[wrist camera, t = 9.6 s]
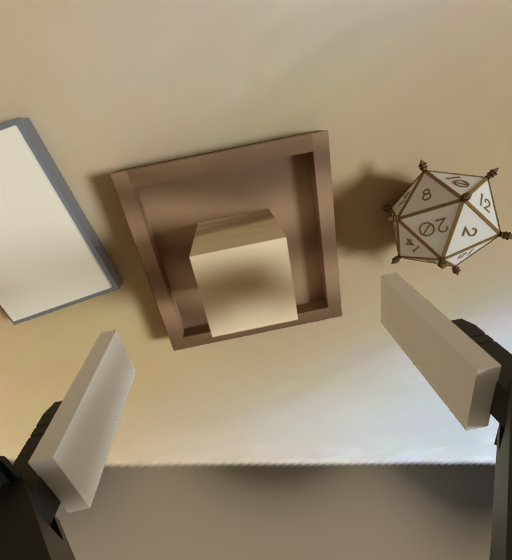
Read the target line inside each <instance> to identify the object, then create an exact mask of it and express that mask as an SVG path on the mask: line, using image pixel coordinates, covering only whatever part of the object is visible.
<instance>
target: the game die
mask: <svg viewBox="0 0 512 560" xmlns="http://www.w3.org/2000/svg"><path fill="white" fill-rule="evenodd" d="M426 164H427V163H425V162H424V161H422V160H421V161H420V164H419V167H420V169H421V171H422V173H421V174H420V175H419V176H418V178H417V179H416V180H415V181H414V182H413V183H412V184H411V186H410V187H409V188H408V189H407V190H406V191H405V192H404V194H403V195H402V196H401V197H400V198H399V199H398V200H397V202H396V203H395V204H394V205H393V206H392V207H391V206H390V205H385V206H382V208H383V209H384V210H385V211H386V210H387V211H391V216H390V217H389V218H388V220H389V221H390V222H391V223H393V228H394V234H395V240H396V246H397V251H398V256H396V257H395V258H392V263H391V264H395V263H397V262H398V261H399V260H400V259H401V258H404V259H410V260H416V261H422V262H428V263H434V264H438V266H439V267H440V268H442V269H444V268H445V267H446V266H452V267H453V268H452V270H453V273H455V274H456V275H458V274H459V271H460V270H459V267H458V266H457V265H458V264H460V263H461V262H463V261H464V260H465V259H467V258H468V257H470V256H471V255H473V254H474V253H476V252H477V251H478V250H480V249H481V248H483V247H484V246H486V245H487V244H489V243H490V242H492V241H493V240H494V239H496V238H497V237H502V238H503V239H506V240H508V239H511V238H512V234H511V232H509V233H508V232H501V229H500V225H499V221H498V217H497V212H496V208H495V204H494V200H493V196H492V191H491V187H490V183H489V179H490V178H492V177H494V176H495V175H497V171H498V168H496V169H493V170H490V172H489V173H488V174H487V175H486V176H485V177H483V176H474V175H465V174H456V173H447V172H438V171H429V170H427V166H426Z"/></svg>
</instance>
